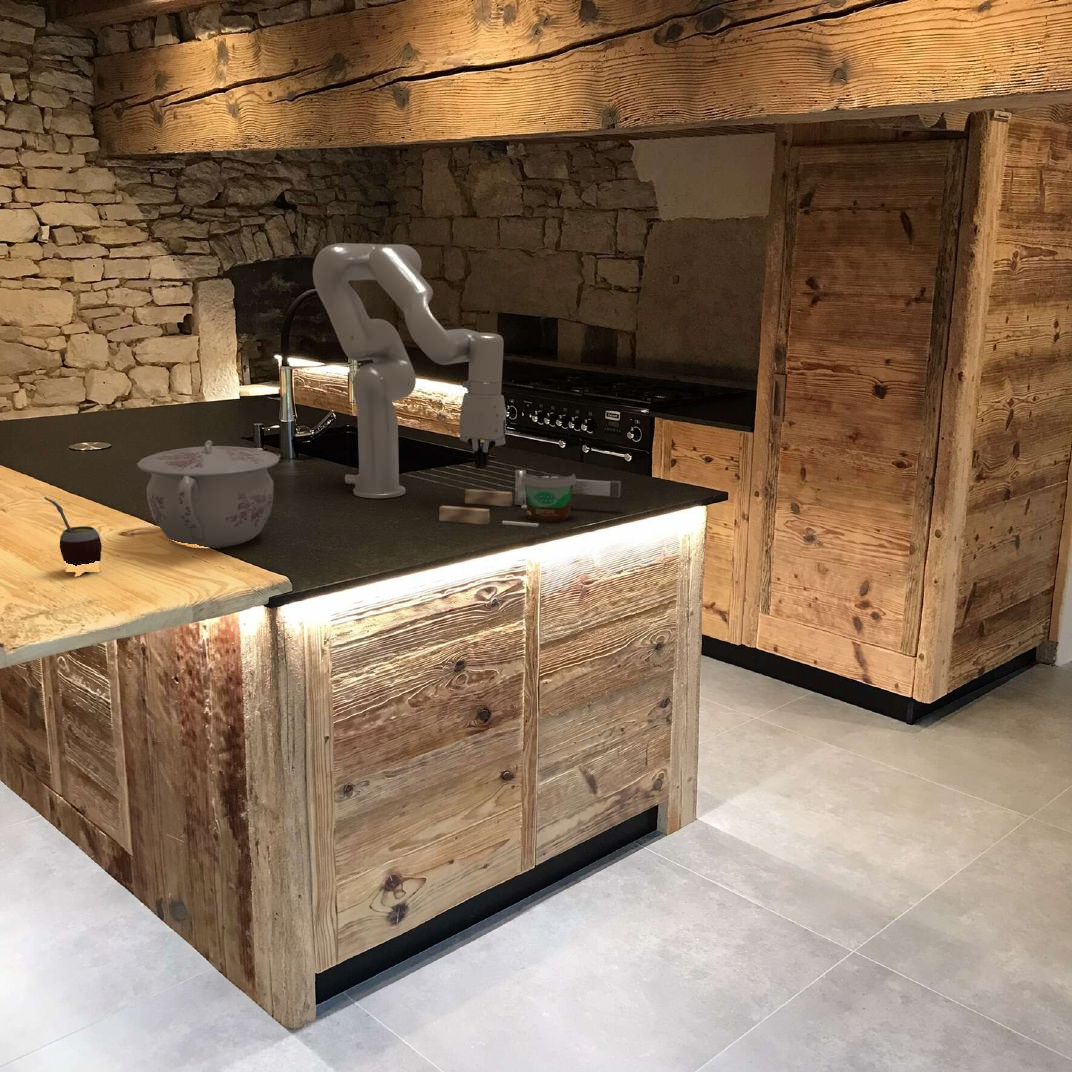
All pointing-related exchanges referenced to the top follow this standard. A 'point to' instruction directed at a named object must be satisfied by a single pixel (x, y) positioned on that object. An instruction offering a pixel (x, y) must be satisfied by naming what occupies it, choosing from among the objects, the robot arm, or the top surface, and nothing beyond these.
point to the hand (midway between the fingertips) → (481, 467)
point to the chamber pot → (210, 493)
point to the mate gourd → (79, 542)
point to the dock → (475, 513)
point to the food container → (548, 497)
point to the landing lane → (520, 522)
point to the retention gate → (579, 488)
